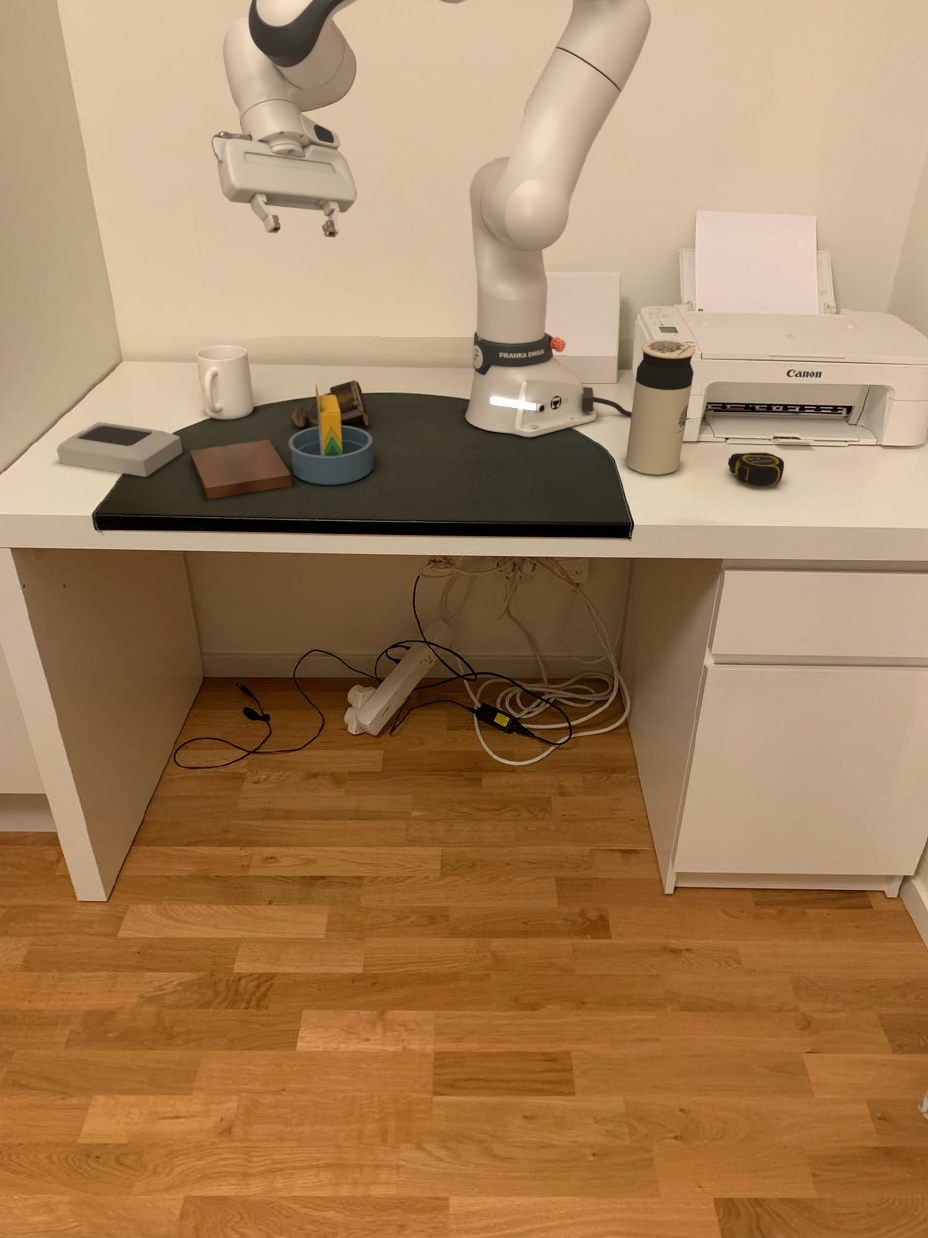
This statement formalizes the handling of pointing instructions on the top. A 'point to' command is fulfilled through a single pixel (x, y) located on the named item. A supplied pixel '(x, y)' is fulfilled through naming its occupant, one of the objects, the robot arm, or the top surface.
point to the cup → (225, 381)
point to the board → (240, 469)
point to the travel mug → (660, 407)
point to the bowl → (331, 457)
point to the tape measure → (757, 468)
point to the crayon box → (329, 425)
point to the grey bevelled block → (120, 449)
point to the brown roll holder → (348, 404)
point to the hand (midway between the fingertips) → (303, 232)
